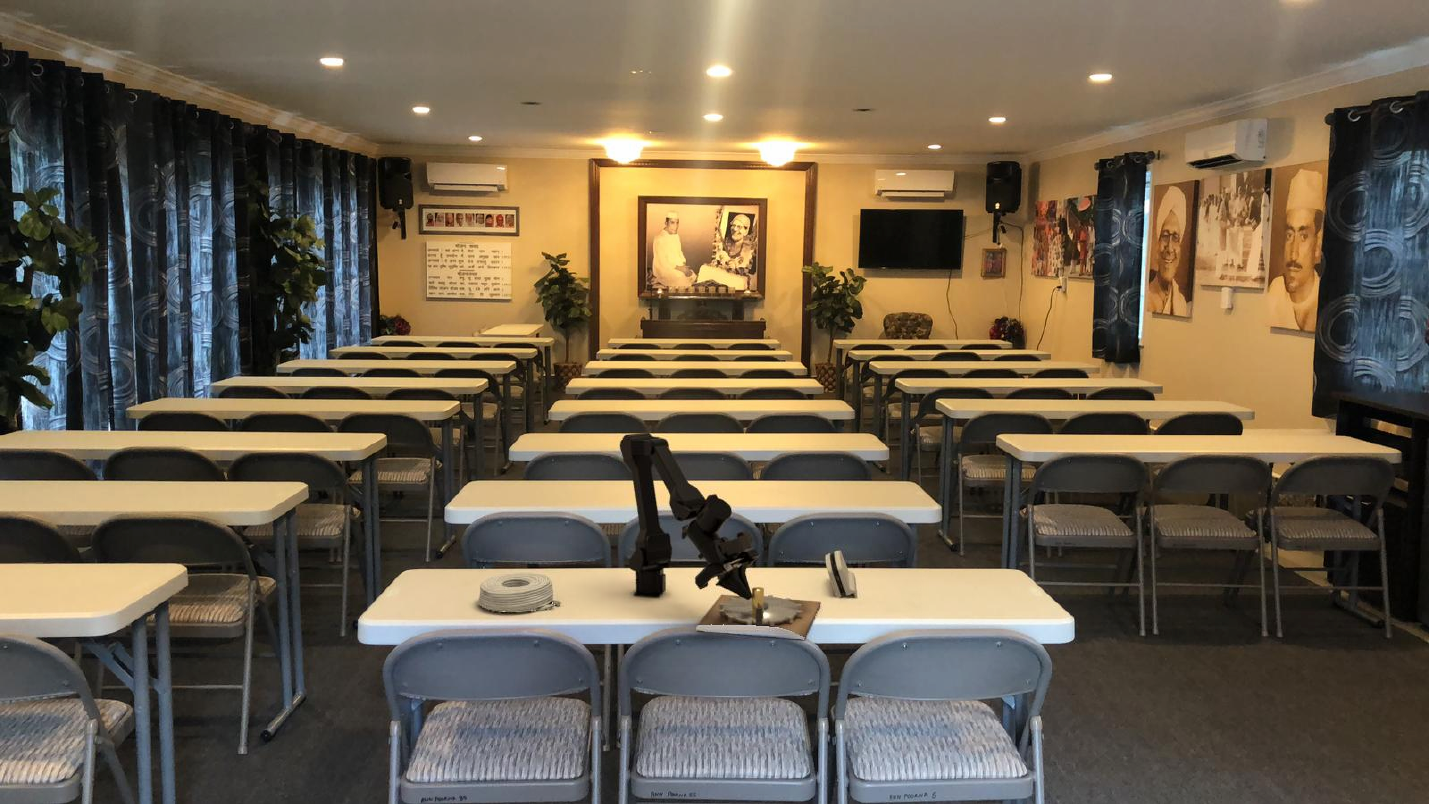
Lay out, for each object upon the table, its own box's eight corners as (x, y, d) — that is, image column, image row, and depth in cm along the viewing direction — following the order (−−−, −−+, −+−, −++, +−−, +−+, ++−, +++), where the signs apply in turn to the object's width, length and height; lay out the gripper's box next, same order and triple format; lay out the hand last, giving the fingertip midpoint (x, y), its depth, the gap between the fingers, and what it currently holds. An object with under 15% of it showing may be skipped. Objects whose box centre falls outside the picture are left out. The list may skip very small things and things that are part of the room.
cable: (564, 608, 250) (564, 583, 249) (492, 621, 241) (491, 595, 240) (537, 589, 265) (537, 565, 264) (469, 600, 256) (468, 576, 255)
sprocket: (729, 629, 230) (729, 595, 229) (709, 602, 249) (709, 570, 248) (814, 623, 235) (814, 589, 234) (788, 597, 253) (788, 565, 252)
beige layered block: (857, 598, 256) (843, 560, 255) (838, 604, 257) (825, 566, 256) (855, 578, 273) (842, 542, 272) (837, 584, 273) (825, 548, 272)
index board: (695, 631, 233) (695, 604, 233) (721, 598, 256) (721, 573, 256) (804, 640, 228) (804, 612, 227) (820, 605, 251) (820, 580, 250)
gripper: (706, 529, 228) (749, 588, 223) (752, 513, 243) (794, 567, 238) (676, 560, 233) (718, 618, 228) (723, 541, 248) (763, 595, 244)
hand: (750, 598), depth 234 cm, fingers closed
